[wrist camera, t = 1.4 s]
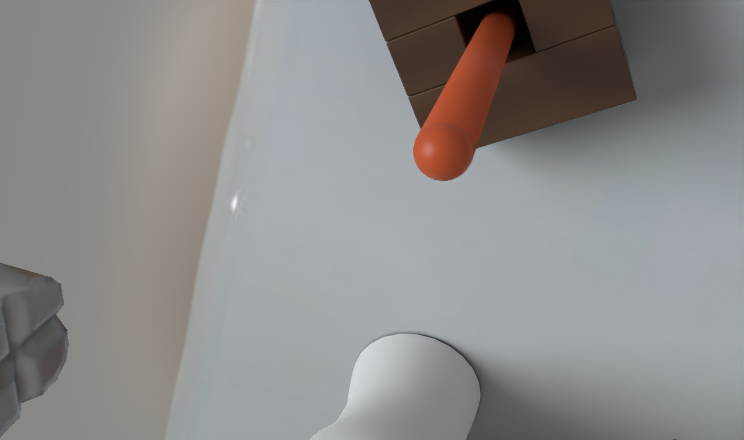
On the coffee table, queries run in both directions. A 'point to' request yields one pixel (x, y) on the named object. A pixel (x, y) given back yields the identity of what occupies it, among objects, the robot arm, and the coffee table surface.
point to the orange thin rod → (467, 97)
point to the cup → (408, 393)
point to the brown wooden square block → (513, 60)
